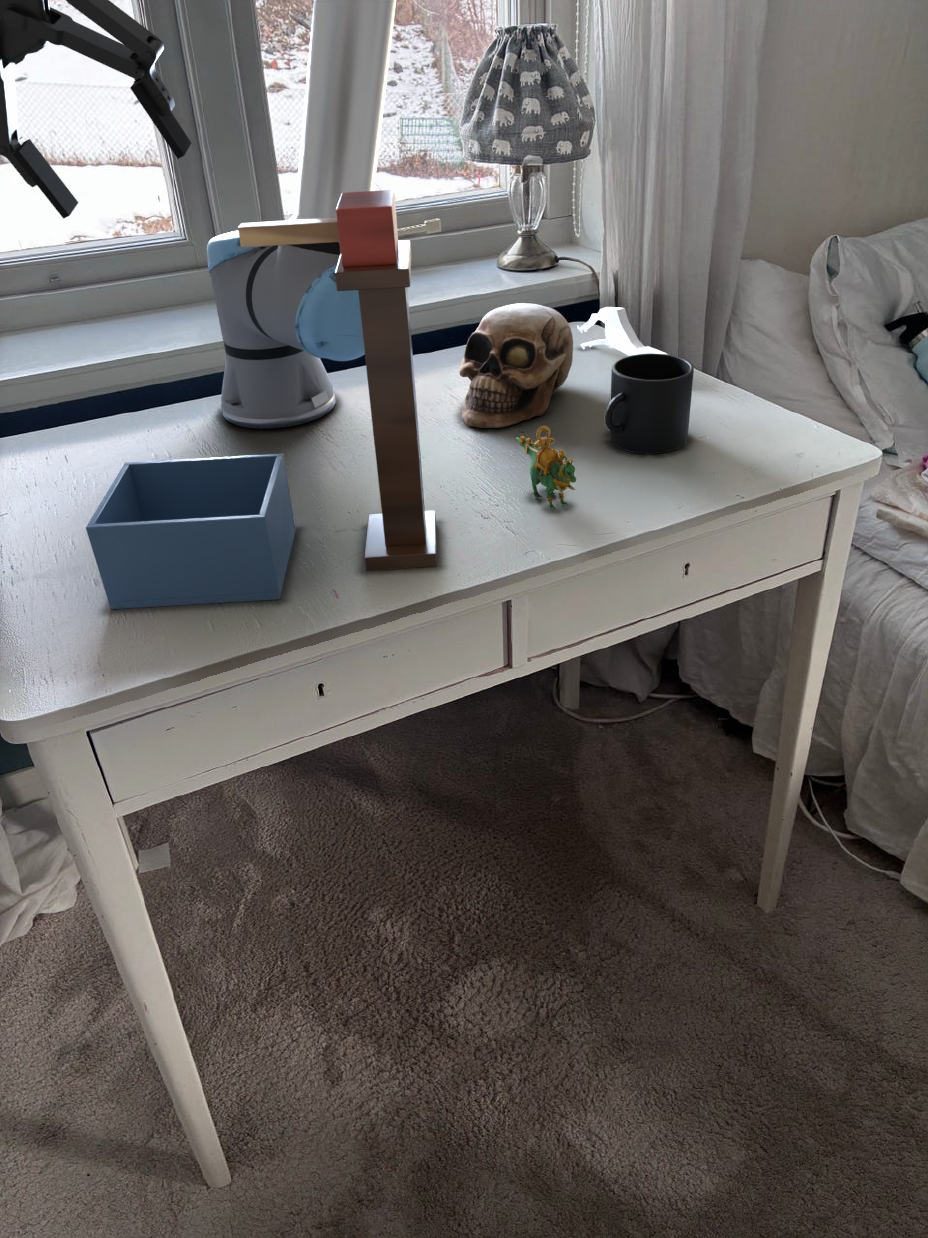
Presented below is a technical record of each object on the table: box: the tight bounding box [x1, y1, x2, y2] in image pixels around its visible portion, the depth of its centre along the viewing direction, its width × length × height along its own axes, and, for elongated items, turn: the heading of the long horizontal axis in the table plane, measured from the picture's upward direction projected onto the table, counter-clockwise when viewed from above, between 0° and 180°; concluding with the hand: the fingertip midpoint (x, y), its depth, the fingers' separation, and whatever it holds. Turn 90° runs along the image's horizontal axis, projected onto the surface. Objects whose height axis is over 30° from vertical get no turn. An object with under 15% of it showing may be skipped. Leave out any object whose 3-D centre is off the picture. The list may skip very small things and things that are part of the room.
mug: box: [604, 353, 695, 455], centre depth 113 cm, size 9×12×9 cm
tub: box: [85, 452, 296, 610], centre depth 93 cm, size 14×16×9 cm
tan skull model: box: [458, 302, 574, 429], centre depth 125 cm, size 16×17×13 cm
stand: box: [335, 239, 438, 571], centre depth 89 cm, size 10×7×28 cm
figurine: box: [516, 425, 577, 510], centre depth 103 cm, size 3×12×8 cm, turn 27°
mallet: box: [237, 189, 399, 267], centre depth 80 cm, size 7×13×4 cm, turn 92°
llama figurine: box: [576, 306, 669, 356], centre depth 137 cm, size 2×11×18 cm
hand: (126, 181), depth 89 cm, fingers open, 13 cm apart
